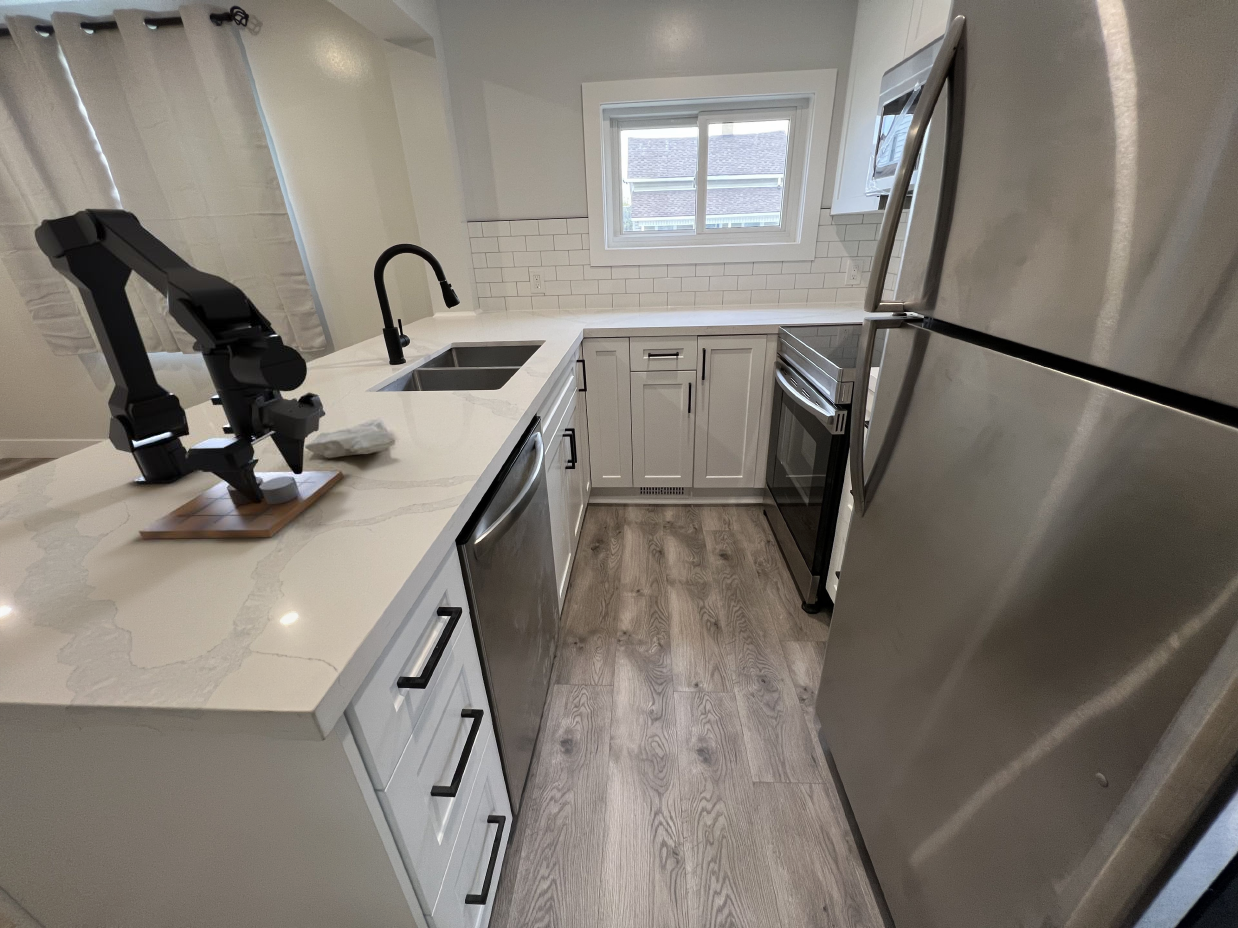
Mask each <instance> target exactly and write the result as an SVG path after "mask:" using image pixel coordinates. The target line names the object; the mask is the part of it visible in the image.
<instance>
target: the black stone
mask: <svg viewBox="0 0 1238 928" xmlns="http://www.w3.org/2000/svg"><path fill="white" fill-rule="evenodd" d="M256 480H257V483H258V487H259V490H260V493H261V498H264V497H263V495H262V492H261V489H260V486H261V484H263V483H264V482H263V479H262V478H261V477H256ZM227 490H228V493H229V495H230V498H231V500H232V502H233V503H234V504H237V505H242V504H249V503H252V502H251V501H250V500H248V499H247V498H246V497H245V496H243V495H242V494H241V493H240V492H238V491H237V490H236V489H235V488H233V487H232V486H231V485H228V486H227Z"/></svg>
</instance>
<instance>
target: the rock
mask: <svg viewBox="0 0 1238 928" xmlns="http://www.w3.org/2000/svg"><path fill="white" fill-rule="evenodd" d="M395 443H396V441H395V438H394V437H393V436H392V435H391V434H390V433H389V431H388V428H387V425H386V424H385V422H384V421H383V420H382V418H381V417H378V418H374V419H371V420H367V421H365V422H362V423H360V424H357V425H354V426H350V427H349V426H348V427H346V428H343V429H339V430H338V429H337V430H335V431H329V432H321V433H320V434H318V435H317V436H316V437H315V438H314V439H313V440H312V441H310V442H309V443H307V444H304V449H306V450H308V451H309V452H311V453H314V454H316V455H320V456H323V457H325V458H328V459H329V458H337V457H338V458H339V457H344V456H345V457H346V456H358V455H369V454H372V453H376V452H381V451H384V450H388V449H389V448H391V447H393V446H394V445H395Z"/></svg>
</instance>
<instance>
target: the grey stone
mask: <svg viewBox="0 0 1238 928" xmlns="http://www.w3.org/2000/svg"><path fill="white" fill-rule="evenodd" d="M260 489H261V492H262V495H263V497H264V500H265V502H266V503H267V504H280V503H284V502H287V501H290V500H292V499H294V498H296V497H297V496H298V495H299V490H298V487H297V484H296V481H295V478H294V477H290V476H284V477H278V478H274V479H271V480H268V481H266V482H264V483H263V484H261V486H260Z"/></svg>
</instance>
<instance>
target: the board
mask: <svg viewBox="0 0 1238 928" xmlns="http://www.w3.org/2000/svg"><path fill="white" fill-rule="evenodd" d="M254 474H255V477H261V478H262V479H263V482H266V481H268V480H271V479H274V478H278V477H284V476H290V477H294V478H295V481H296V484H297V487H298V490H299V495H298V496H297V497H296V498H294V499H292V500H290V501H287V502H284V503H280V504H267V503H266V502H265V500H264V498H262V502H261V503H258V504H254V503H249V504H242V505H237V504H234V503H233V502H232V500H231V498H230V495H229V493H228V490H227V486H228V485H229V484H228V483H227V482H225V481H224V480H222V481H221V482H219V483H218V484H216V485H214V486H212V487H210V488H209V489H207V490H205V491H204V492H202V493H201V494H199V495H197V496H196V497H194V498H192V499H191V500H189V501H187V502H185V503H184V504H182V505H180V506H179V507H178V508H175V509H174V510H172V511H170V512H169V513H167V514H165V515H164V516H162V517H161V518H159V519H157V520H155V521H154V522H152V523H150V524H149V525H147V526H145V527H143V528H142V529H140V530H139V531H138V533H139V535H140V537H141V538H142V540H149V539H150V540H152V539H154V540H155V539H157V540H159V539H163V540H165V539H229V538H230V539H234V538H235V539H236V538H239V539H240V538H244V539H245V538H272V537H273V536H274V535H276V534H277V533H278V532H279V531H280V530H282V529H283V528H284V527H285V526H287V525H288V524H289V523H290V522H291V521H292V520H293V519H295V518H296V517H298V515H300V514H301V513H302V512H303V511H305V510H306V509H307V508H309V506H310V505H312V504H313V503H314V502H316V501H317V500H318V499H320V497H321V496H323V495H324V494H325V493H326V492H328V491H329V490H330V489H331V488H332V487H333V486H335V485H336V484H337V483H338V482H340V481H341V480H342V479H343V478H344V475H343V471H342V470H322V471H321V470H317V471H315V470H313V471H303V472H302V474H294V473H293V471H266V472H265V471H264V472H260V471H259V472H254Z"/></svg>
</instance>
